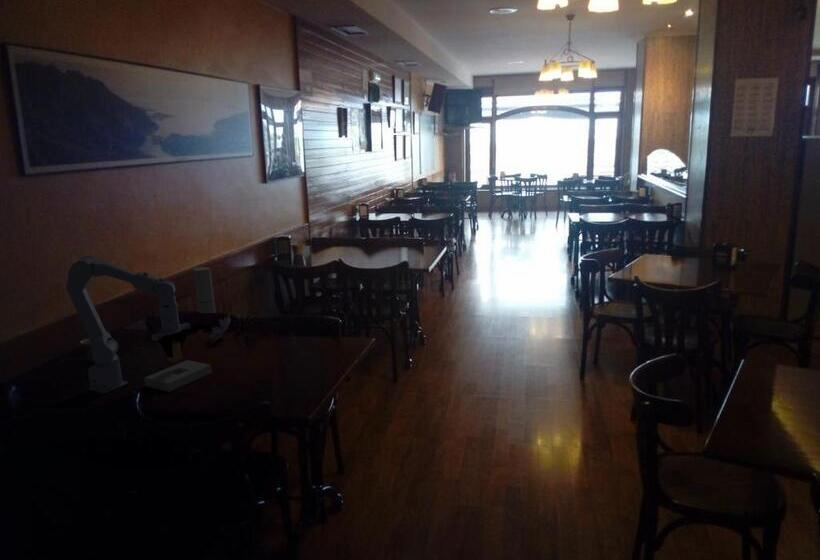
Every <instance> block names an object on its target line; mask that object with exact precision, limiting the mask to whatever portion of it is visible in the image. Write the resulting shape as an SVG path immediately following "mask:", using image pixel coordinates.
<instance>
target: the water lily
mask: <svg viewBox="0 0 820 560" xmlns="http://www.w3.org/2000/svg"><path fill="white" fill-rule="evenodd" d="M230 317H231V312H229V313H228V315H227V316H226V317H223V319H222V318H219V320H218V324H219V327H217V326H216V327H215V326H214V327H212V331H210V332H209V333H210V334H211V335H209V337H211V338H210V340H212V341H211V343H210V345H212V344H213V343H215V342H216V341H217V340H218V339H220V337H221V336H223V334H227V336H229V337H230V339H232V340H233V339H234V336H232V335H231V334H230V333H229V332H227V331H226V330H227V329H228V328H229V326H230V323H231V318H230Z"/></svg>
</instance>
